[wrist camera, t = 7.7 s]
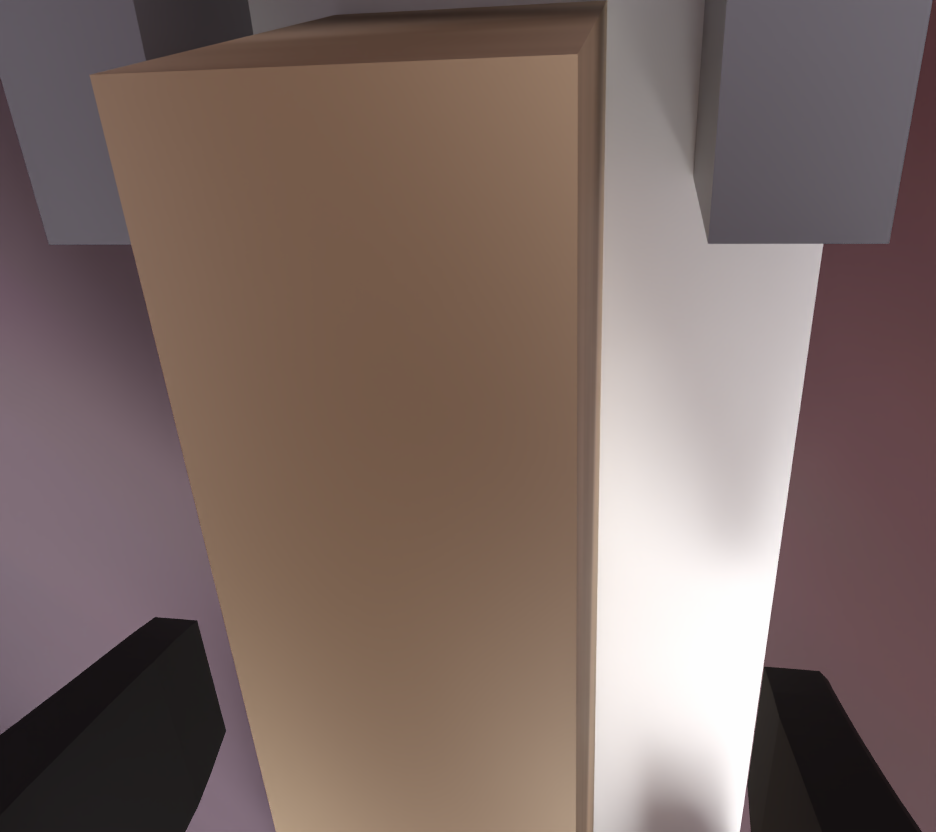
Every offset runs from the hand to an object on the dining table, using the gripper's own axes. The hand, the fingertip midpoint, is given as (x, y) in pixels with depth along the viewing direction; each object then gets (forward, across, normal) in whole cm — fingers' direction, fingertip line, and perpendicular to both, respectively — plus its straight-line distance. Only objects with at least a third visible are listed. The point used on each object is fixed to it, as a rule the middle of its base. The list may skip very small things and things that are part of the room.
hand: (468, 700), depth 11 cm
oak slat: (+2, 0, 0) cm, 2 cm away
